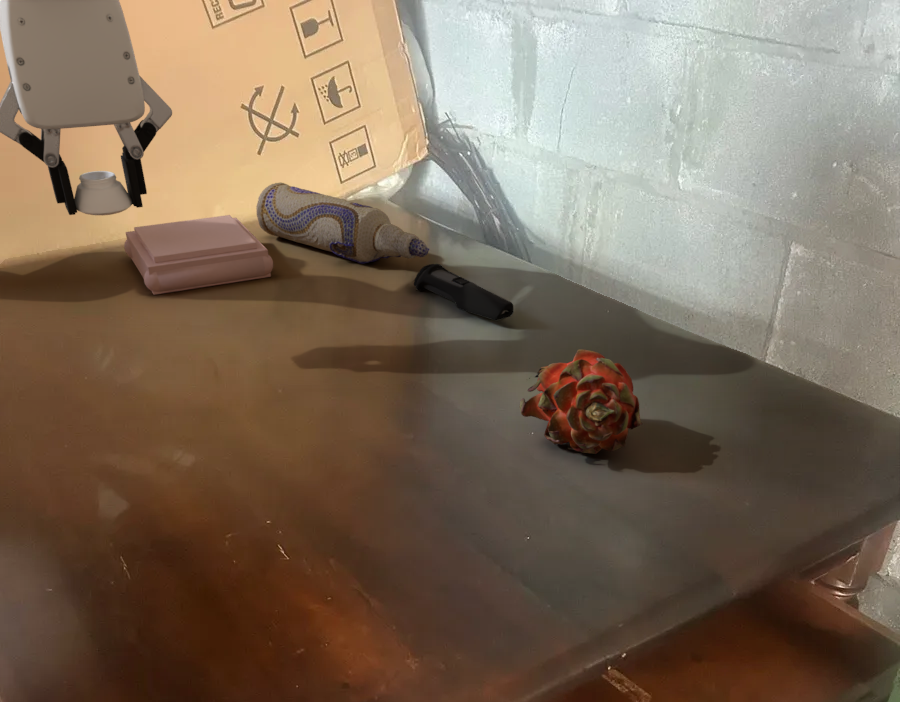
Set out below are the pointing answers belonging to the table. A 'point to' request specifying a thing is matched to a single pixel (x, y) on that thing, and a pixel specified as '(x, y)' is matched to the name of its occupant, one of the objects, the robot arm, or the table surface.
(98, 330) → the table surface
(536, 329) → the table surface
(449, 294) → the electric trimmer
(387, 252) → the decorative bottle
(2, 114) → the robot arm
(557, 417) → the dragon fruit
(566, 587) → the table surface
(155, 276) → the decorative box
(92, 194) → the white jar
